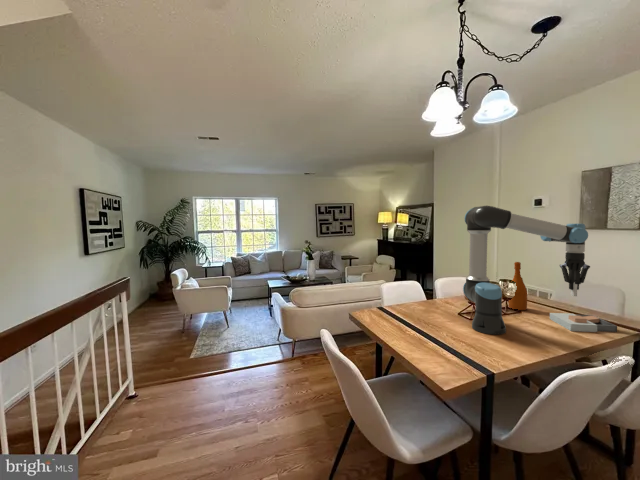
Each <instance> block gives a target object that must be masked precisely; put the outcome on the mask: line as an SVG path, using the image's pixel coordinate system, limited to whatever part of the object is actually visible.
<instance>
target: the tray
mask: <svg viewBox="0 0 640 480" xmlns="http://www.w3.org/2000/svg"><path fill="white" fill-rule="evenodd" d="M576 315H577V316H582V317H584V316H594V317H597V318H599V320H600V322H599V323H594V324H596V325H597V332H606V333H607V332H609V333H617V332H618V325H616V324H614V323H611V322H609V321H607V320H604V319H602V318H600V317H598V316H595V315H593V314H576Z"/></svg>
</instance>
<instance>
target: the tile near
mask: <svg viewBox="0 0 640 480" xmlns="http://www.w3.org/2000/svg"><path fill="white" fill-rule="evenodd" d="M569 320H571V321H573V322H579V323H587V319H586V318H584V317H582V316H574V315H569Z"/></svg>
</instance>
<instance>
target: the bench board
mask: <svg viewBox="0 0 640 480" xmlns="http://www.w3.org/2000/svg"><path fill="white" fill-rule="evenodd" d="M569 315H574V316H577V315H578V314H574V313H569V312H567V313H563V312H562V313H561V312H549V320H551V321H552V322H554V323H555V324H558V325H559V326H561V327H563V328H565V329H567V330H568V331H570V332H583V333H584V332H585V333H588V332H591V333H597V332H598V331H597V325H596V324H594V323H592V322H590V321H587V323H579V322H573V321H571V320H569Z"/></svg>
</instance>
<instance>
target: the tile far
mask: <svg viewBox="0 0 640 480" xmlns="http://www.w3.org/2000/svg"><path fill="white" fill-rule="evenodd" d="M594 316H595V315H593V316H584V318H586V319H587V321H590V322H592V323H599V322H600V320H599V318H600V317H598V316H595V317H594ZM597 317H598V318H597Z"/></svg>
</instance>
